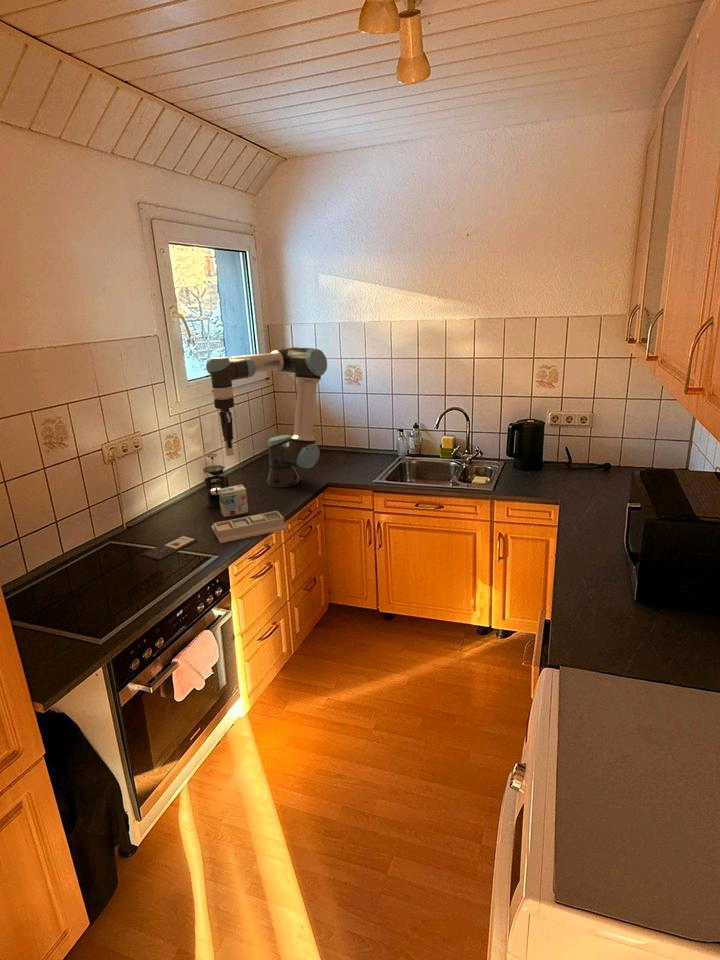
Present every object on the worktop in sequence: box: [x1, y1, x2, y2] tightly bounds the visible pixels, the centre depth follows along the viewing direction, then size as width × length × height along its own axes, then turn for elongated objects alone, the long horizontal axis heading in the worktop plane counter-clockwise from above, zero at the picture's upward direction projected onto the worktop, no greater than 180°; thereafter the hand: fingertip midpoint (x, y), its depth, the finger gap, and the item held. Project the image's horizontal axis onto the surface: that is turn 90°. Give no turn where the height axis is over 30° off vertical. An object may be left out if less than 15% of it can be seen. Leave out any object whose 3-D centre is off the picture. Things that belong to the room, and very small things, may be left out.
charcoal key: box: [266, 514, 279, 520], centre depth 224 cm, size 4×4×2 cm
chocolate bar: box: [141, 535, 198, 561], centre depth 208 cm, size 9×1×18 cm
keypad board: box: [211, 510, 287, 544], centre depth 221 cm, size 26×16×4 cm, turn 115°
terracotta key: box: [217, 524, 231, 530], centre depth 216 cm, size 4×4×2 cm
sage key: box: [250, 514, 264, 524], centre depth 221 cm, size 4×4×2 cm
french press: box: [202, 453, 230, 509], centre depth 245 cm, size 12×9×23 cm
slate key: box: [234, 521, 248, 527], centre depth 219 cm, size 4×4×2 cm
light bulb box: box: [218, 484, 249, 518], centre depth 237 cm, size 11×7×11 cm, turn 117°
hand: (230, 455), depth 227 cm, fingers closed
